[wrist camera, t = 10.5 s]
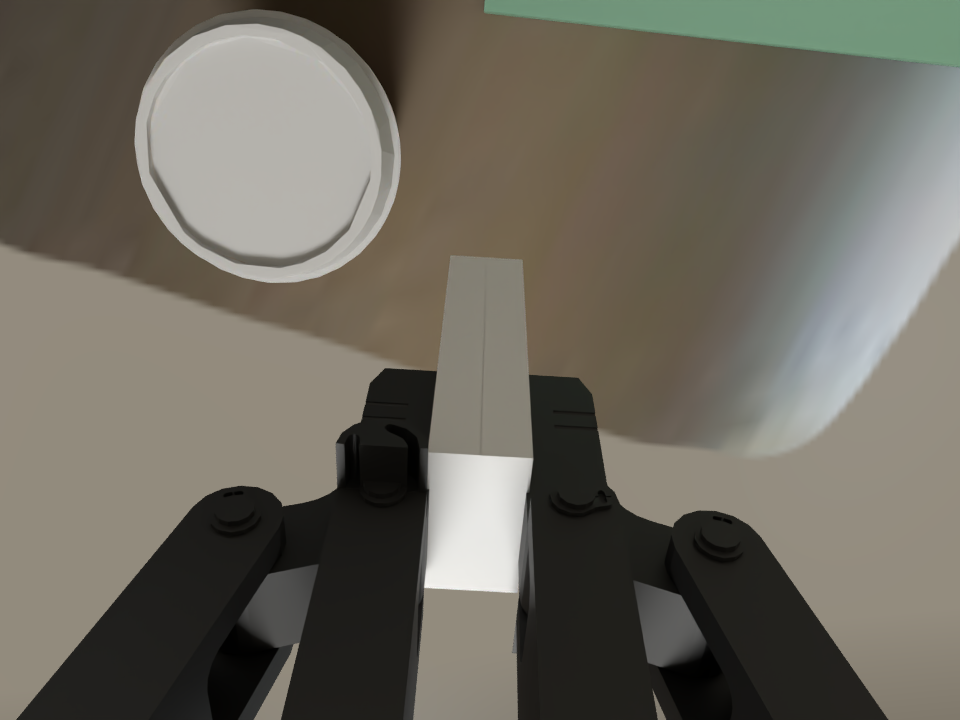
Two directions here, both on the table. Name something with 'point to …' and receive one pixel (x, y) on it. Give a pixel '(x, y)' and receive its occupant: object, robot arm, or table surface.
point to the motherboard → (775, 23)
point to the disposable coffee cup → (267, 146)
